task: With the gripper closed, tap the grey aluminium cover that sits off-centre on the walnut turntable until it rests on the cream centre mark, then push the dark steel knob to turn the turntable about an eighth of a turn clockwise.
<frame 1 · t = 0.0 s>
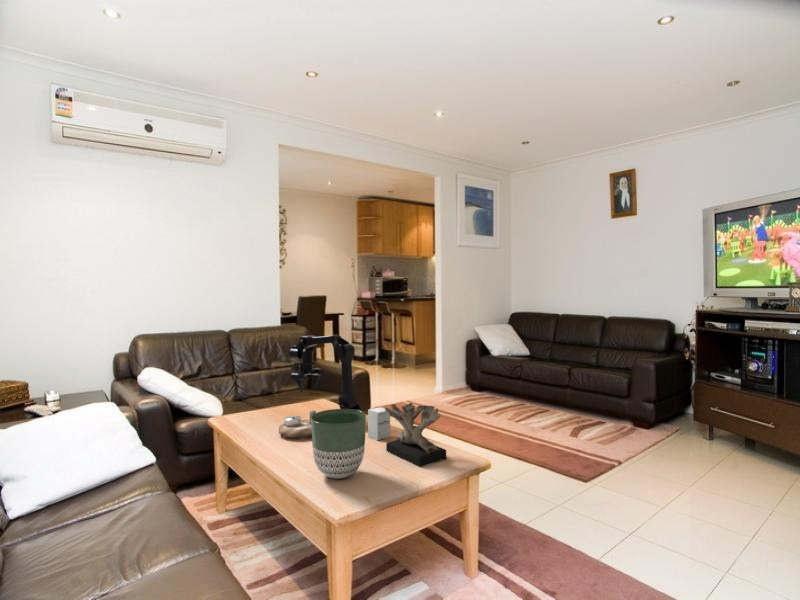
hand: (307, 390, 233), 15 cm above the table, tool pointing down, fingers open, 9 cm apart
planter: (339, 476, 161), on the table
supplement box: (379, 437, 203), on the table
turntable: (301, 422, 209), point 5 cm above the table, hinge at 0.0°, touching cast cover
turntable base: (301, 433, 209), on the table
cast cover: (292, 424, 212), point 3 cm above the table, touching turntable
coral: (412, 458, 178), on the table
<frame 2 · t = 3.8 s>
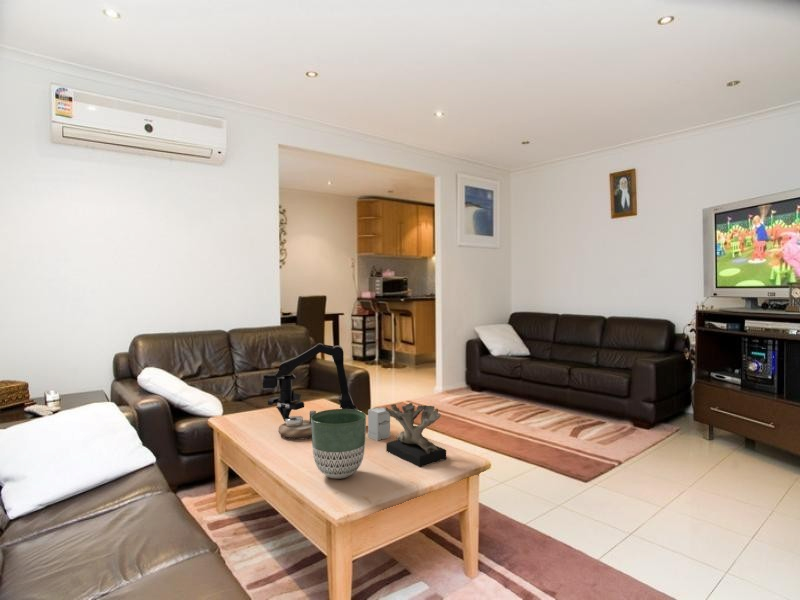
hand: (285, 421, 214), 4 cm above the table, tool pointing down, fingers closed
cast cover: (294, 424, 211), point 3 cm above the table, touching gripper, turntable
everything else where it was.
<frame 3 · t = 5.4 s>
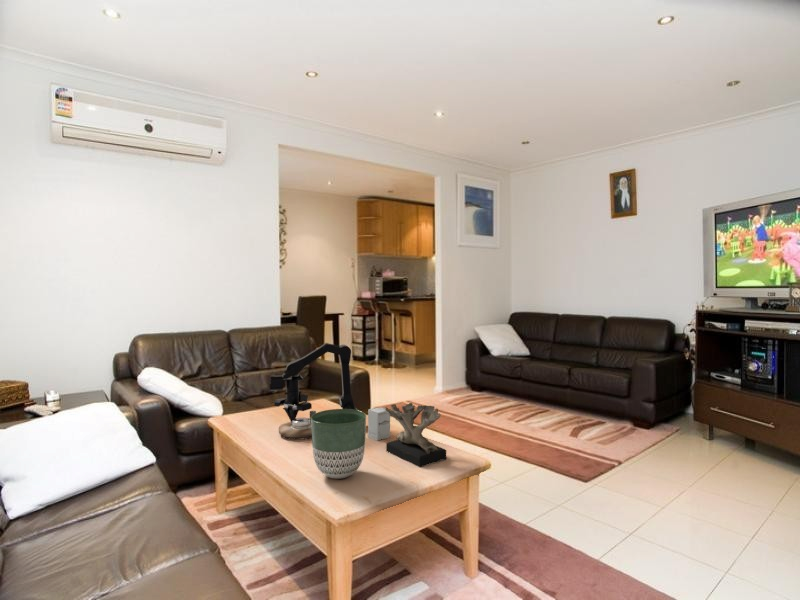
hand: (292, 422, 211), 4 cm above the table, tool pointing down, fingers closed
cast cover: (301, 426, 208), point 3 cm above the table, touching turntable
everything else where it was.
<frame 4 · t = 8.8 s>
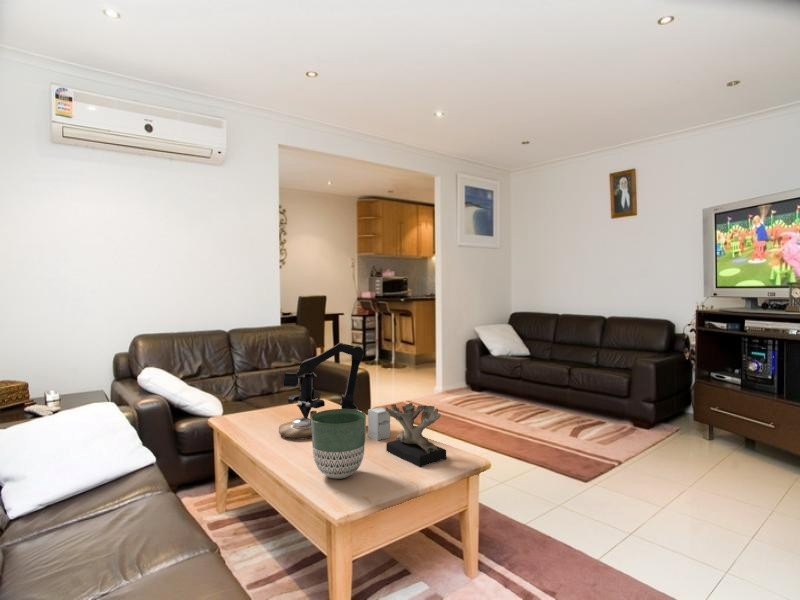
hand: (306, 419, 216), 5 cm above the table, tool pointing down, fingers closed
turntable: (301, 422, 209), point 5 cm above the table, hinge at -2.8°, touching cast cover, gripper
everything else where it was.
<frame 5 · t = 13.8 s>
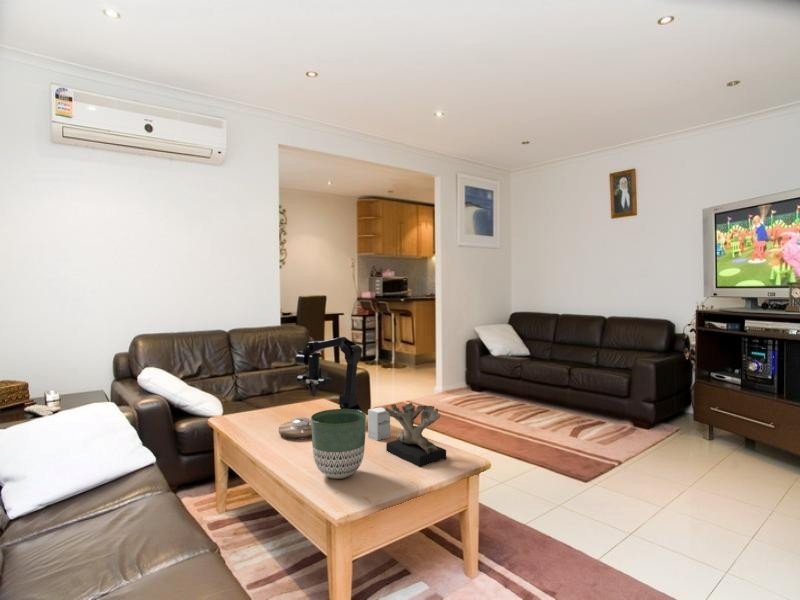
hand: (314, 396, 231), 12 cm above the table, tool pointing down, fingers closed
turntable: (301, 422, 209), point 5 cm above the table, hinge at -42.9°, touching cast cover
everything else where it was.
at the end: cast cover 0.4 cm from the turntable (horizontally); turntable at -43° (first picture: +0°); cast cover tilted 0° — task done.
